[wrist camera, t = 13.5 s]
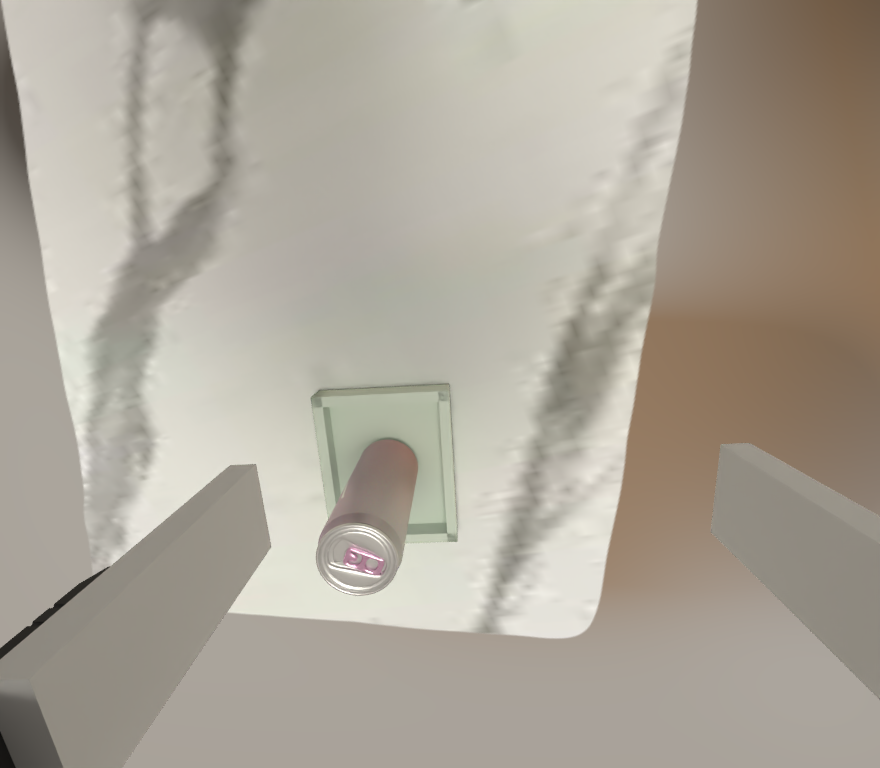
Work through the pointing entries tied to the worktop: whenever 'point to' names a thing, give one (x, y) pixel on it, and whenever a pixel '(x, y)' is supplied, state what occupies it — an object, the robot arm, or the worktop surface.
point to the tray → (401, 419)
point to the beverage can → (369, 521)
